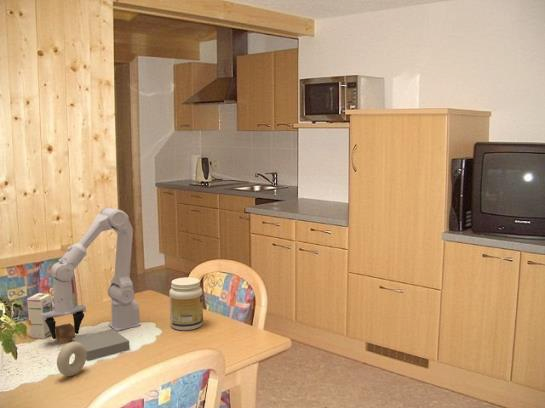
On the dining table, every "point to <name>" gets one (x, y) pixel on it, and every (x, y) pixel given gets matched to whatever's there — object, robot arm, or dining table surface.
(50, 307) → the syrup box
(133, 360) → the dining table surface
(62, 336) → the walnut block
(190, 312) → the supplement tub
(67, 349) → the donut
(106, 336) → the slate plinth
